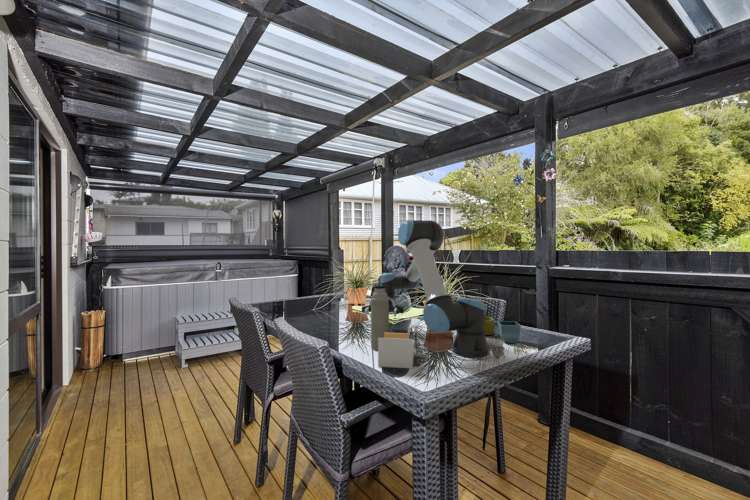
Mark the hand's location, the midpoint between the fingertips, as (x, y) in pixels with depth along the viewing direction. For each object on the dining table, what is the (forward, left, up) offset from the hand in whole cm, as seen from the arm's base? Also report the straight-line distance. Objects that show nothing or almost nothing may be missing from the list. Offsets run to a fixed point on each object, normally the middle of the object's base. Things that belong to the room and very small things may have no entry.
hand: (380, 313), depth 162 cm
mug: (-33, -45, -15) cm, 58 cm away
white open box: (-17, +13, -15) cm, 26 cm away
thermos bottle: (-2, +3, -15) cm, 16 cm away
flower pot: (-48, -38, -15) cm, 63 cm away
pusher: (-18, +16, -14) cm, 27 cm away
